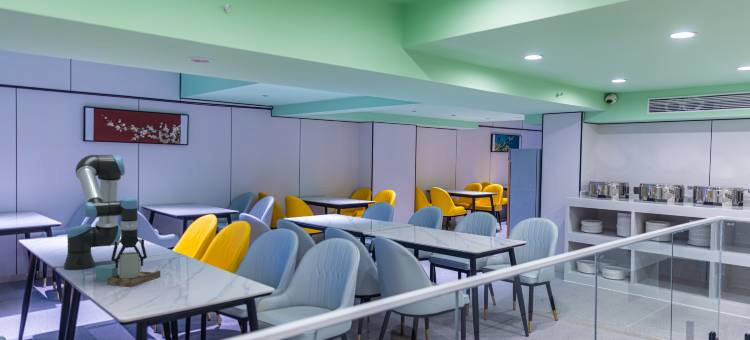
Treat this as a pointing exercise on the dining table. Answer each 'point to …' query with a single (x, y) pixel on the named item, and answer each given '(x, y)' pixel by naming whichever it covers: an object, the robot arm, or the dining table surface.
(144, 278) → the cradle jig
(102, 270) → the wing block
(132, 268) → the can
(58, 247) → the dining table surface
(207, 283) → the dining table surface
